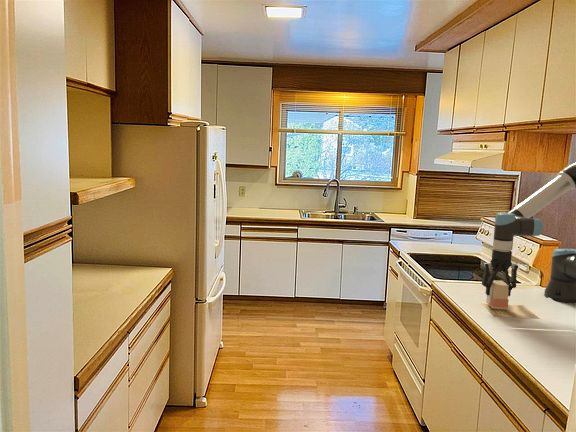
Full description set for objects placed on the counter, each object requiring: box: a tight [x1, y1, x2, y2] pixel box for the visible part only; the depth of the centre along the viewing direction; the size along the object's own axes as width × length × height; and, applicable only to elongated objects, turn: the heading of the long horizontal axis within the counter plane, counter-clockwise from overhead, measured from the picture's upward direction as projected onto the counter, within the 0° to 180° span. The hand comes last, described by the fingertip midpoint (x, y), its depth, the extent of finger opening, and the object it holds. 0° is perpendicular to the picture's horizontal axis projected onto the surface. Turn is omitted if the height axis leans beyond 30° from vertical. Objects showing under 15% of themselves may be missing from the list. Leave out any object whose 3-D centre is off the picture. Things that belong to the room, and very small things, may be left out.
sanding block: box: [485, 279, 509, 309], centre depth 202 cm, size 6×8×10 cm
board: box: [481, 303, 541, 320], centre depth 200 cm, size 18×16×1 cm
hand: (497, 302), depth 203 cm, fingers closed on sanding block, 6 cm apart
